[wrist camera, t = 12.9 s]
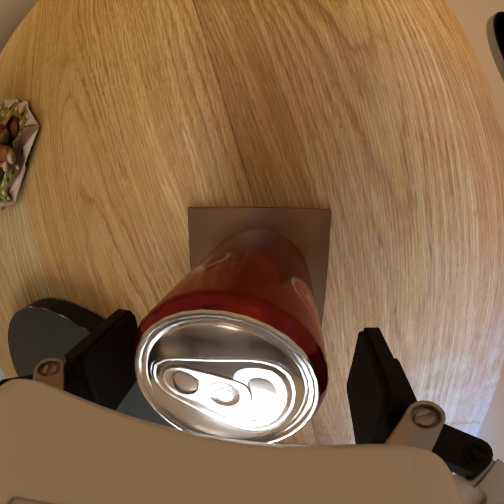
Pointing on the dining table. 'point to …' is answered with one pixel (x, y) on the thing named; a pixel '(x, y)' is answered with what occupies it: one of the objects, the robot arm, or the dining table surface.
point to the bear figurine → (14, 147)
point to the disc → (63, 345)
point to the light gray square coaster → (270, 218)
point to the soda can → (236, 343)
